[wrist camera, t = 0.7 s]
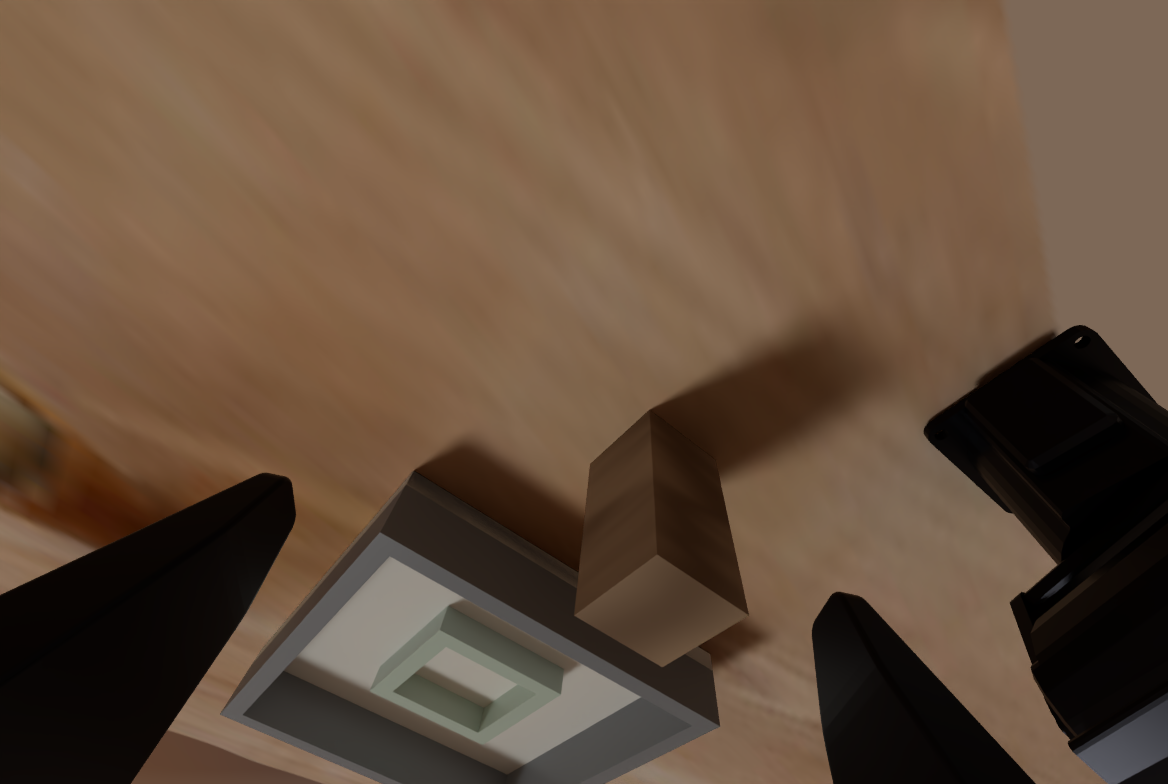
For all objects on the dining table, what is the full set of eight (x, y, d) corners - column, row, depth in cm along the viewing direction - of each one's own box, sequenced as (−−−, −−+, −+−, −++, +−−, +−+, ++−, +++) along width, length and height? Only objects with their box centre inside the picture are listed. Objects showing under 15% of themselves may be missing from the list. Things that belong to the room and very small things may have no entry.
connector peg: (715, 460, 24) (748, 615, 17) (654, 508, 26) (662, 667, 19) (649, 409, 23) (657, 554, 16) (590, 464, 25) (574, 615, 18)
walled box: (710, 654, 31) (720, 726, 28) (513, 768, 40) (502, 834, 37) (413, 470, 26) (379, 532, 22) (260, 650, 34) (219, 714, 31)
